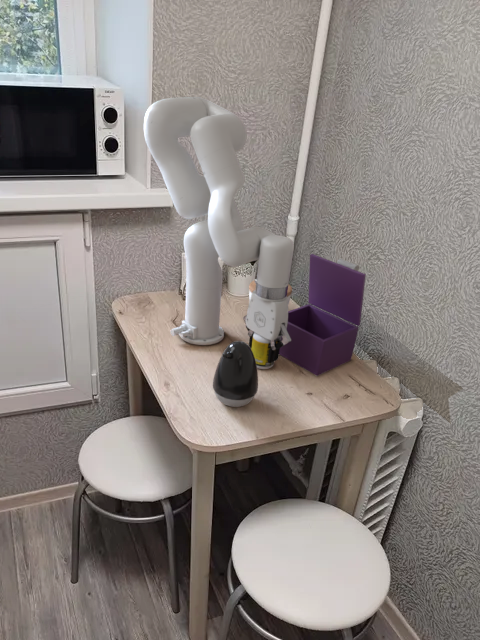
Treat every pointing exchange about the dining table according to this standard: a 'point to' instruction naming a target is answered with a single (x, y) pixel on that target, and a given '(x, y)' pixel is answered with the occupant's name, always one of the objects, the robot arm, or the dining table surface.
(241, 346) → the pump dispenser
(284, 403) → the dining table surface
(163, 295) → the dining table surface
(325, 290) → the file box lid
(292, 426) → the dining table surface
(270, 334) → the robot arm
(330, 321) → the box
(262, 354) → the pill bottle
